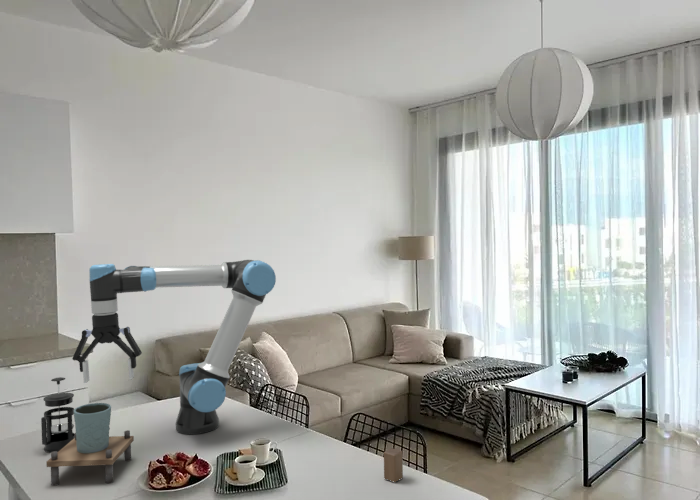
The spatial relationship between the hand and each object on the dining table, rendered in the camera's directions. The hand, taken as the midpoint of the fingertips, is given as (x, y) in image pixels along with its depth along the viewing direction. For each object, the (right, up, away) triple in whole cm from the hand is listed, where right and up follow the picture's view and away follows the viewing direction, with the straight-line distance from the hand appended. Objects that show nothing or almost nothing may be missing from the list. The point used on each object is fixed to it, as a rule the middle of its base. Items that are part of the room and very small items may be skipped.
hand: (109, 380), depth 173 cm
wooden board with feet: (0, -25, -10) cm, 27 cm away
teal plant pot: (0, -18, -10) cm, 21 cm away
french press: (-20, -25, +9) cm, 33 cm away
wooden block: (+88, -24, -18) cm, 93 cm away
